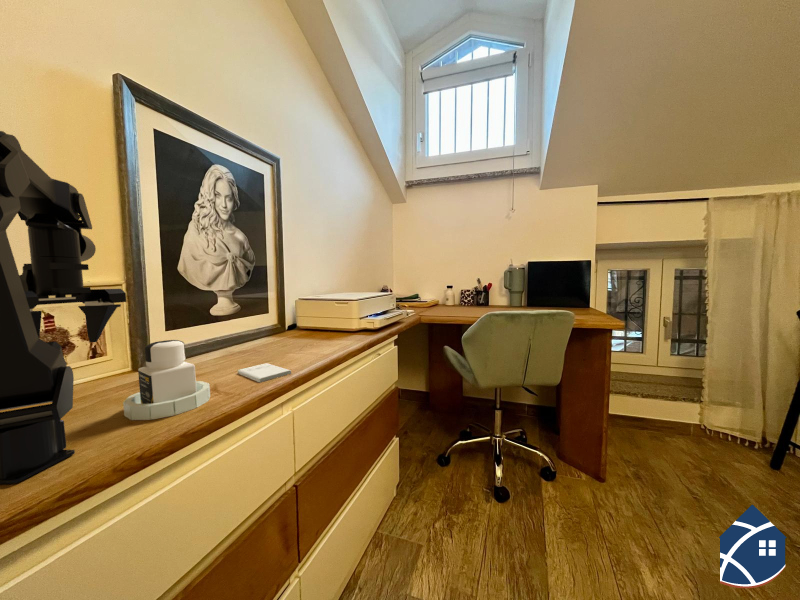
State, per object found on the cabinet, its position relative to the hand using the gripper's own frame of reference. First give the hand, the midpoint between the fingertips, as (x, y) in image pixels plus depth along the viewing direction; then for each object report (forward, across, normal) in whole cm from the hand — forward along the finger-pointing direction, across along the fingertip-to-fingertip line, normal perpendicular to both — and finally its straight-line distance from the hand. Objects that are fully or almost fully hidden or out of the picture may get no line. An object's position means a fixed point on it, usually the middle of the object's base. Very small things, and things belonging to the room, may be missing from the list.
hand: (65, 347), depth 52 cm
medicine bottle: (+13, -6, +13) cm, 19 cm away
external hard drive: (+14, -25, +22) cm, 36 cm away
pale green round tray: (+13, -6, +13) cm, 19 cm away
